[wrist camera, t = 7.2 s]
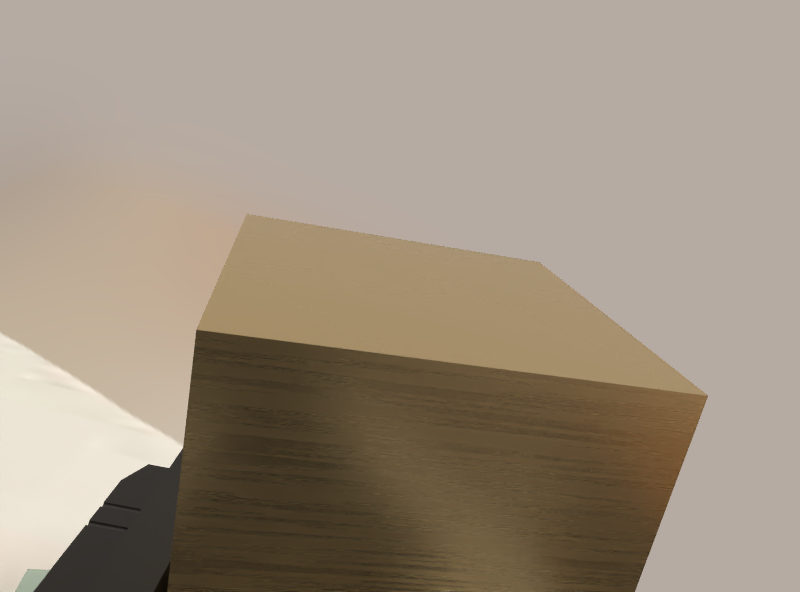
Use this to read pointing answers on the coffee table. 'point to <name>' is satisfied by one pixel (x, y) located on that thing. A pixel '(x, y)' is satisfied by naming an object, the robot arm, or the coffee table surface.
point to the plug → (417, 425)
